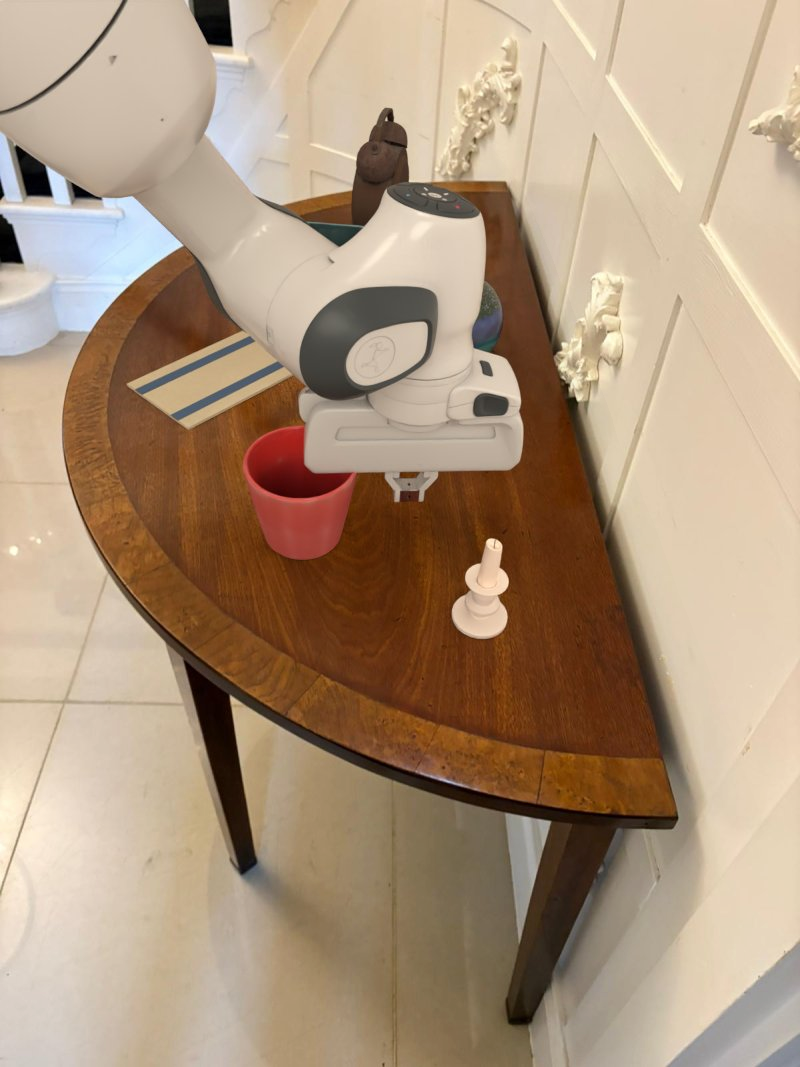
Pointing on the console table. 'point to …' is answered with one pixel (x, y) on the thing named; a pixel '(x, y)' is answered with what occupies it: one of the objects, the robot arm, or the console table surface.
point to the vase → (488, 320)
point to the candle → (483, 596)
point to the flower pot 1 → (295, 496)
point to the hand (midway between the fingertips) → (407, 497)
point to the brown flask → (379, 167)
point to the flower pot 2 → (336, 231)
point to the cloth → (211, 380)
